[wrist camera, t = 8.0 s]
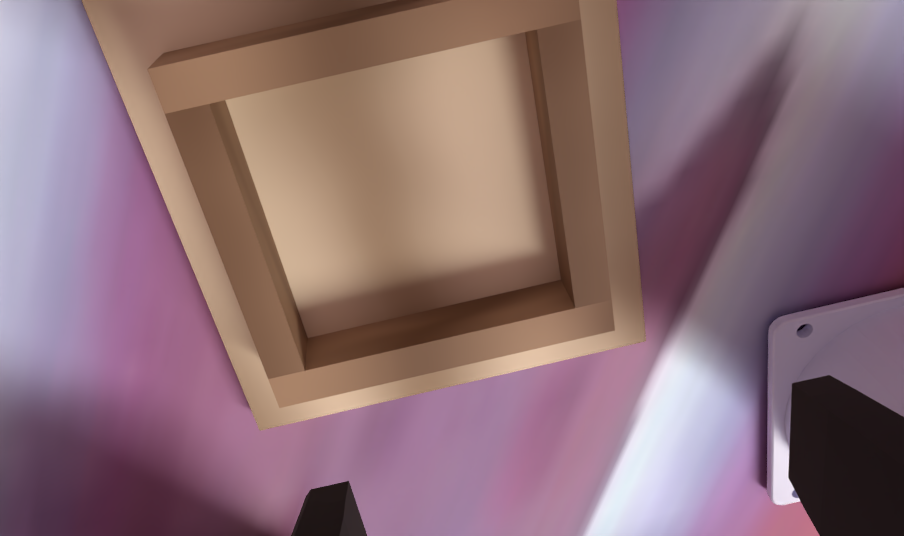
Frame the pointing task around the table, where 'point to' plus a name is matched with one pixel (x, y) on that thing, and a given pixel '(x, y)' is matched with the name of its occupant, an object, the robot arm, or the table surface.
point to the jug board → (388, 185)
